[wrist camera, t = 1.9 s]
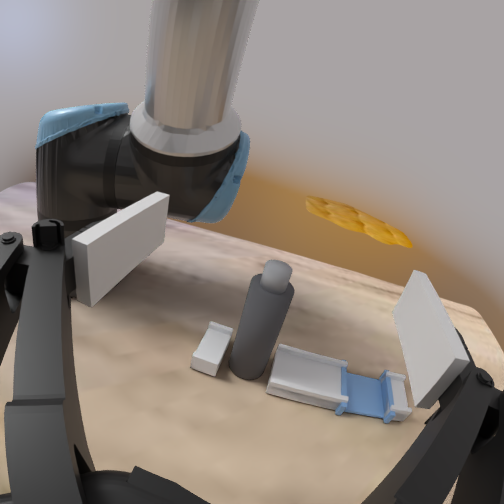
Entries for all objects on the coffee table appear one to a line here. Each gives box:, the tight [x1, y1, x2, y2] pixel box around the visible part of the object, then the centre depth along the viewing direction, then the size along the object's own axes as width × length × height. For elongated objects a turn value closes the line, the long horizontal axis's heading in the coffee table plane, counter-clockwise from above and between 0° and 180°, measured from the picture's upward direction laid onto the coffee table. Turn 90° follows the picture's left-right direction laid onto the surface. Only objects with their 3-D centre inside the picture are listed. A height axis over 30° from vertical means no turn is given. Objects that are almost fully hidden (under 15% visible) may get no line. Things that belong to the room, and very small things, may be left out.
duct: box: [190, 321, 412, 423], centre depth 31 cm, size 25×7×2 cm, turn 76°
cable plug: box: [229, 260, 294, 379], centre depth 29 cm, size 4×4×13 cm
